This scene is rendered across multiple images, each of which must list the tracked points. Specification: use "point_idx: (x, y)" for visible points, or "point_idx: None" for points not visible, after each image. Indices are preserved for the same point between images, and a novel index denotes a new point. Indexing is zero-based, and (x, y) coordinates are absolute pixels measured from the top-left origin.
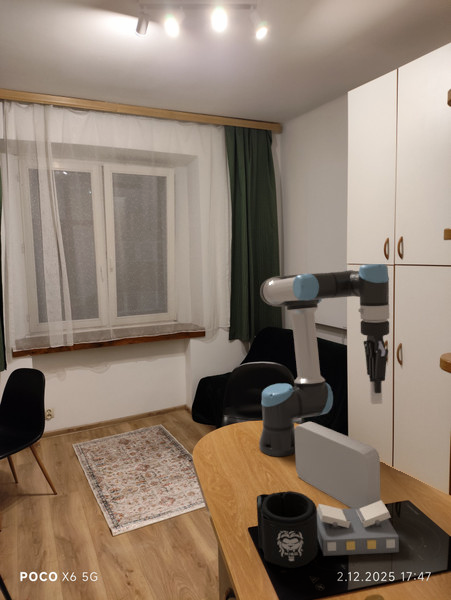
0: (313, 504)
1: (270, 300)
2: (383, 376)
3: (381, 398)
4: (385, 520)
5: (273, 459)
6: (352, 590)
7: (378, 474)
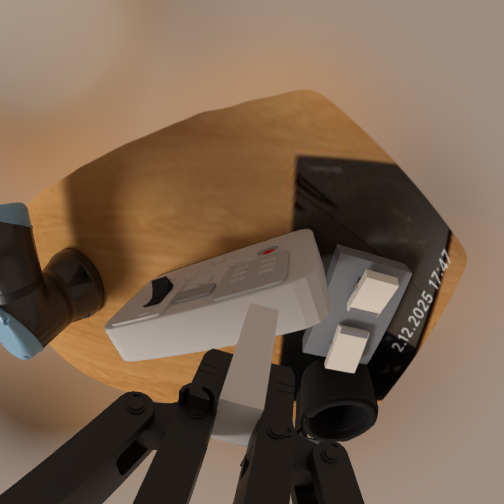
0: (352, 396)
1: None
2: (349, 484)
3: (275, 329)
4: (375, 268)
5: (111, 308)
6: (418, 343)
7: (317, 255)
